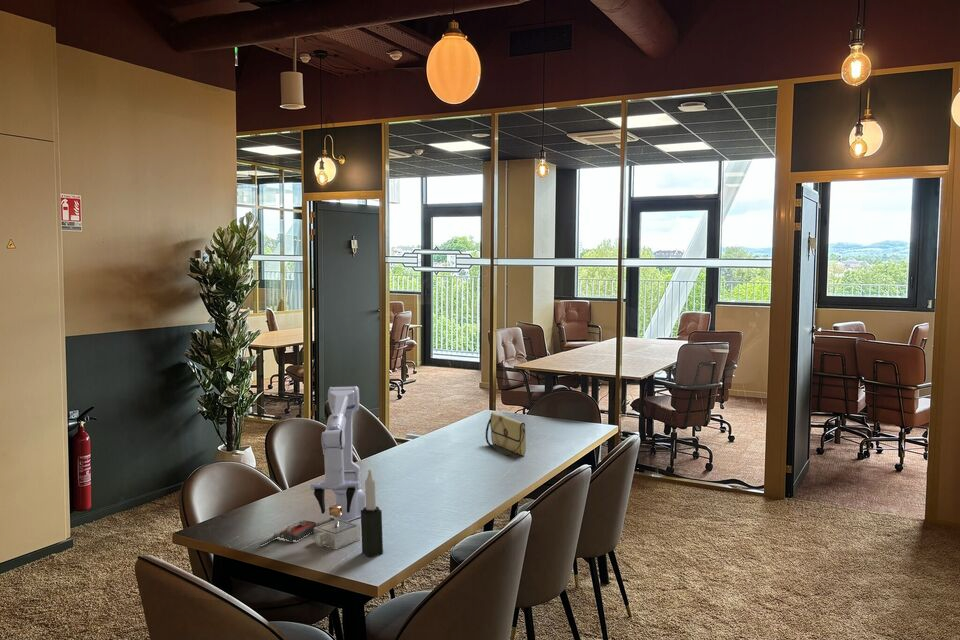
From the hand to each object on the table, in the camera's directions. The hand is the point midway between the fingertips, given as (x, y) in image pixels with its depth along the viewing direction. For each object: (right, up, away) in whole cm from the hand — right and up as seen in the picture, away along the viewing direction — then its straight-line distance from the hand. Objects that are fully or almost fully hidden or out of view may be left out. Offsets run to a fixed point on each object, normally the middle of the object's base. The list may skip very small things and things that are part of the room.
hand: (336, 512), depth 226 cm
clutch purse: (+55, 0, +105) cm, 119 cm away
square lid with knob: (0, -6, 0) cm, 6 cm away
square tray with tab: (0, -9, +1) cm, 9 cm away
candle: (+13, -10, -9) cm, 19 cm away
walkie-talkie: (-15, -10, +4) cm, 19 cm away
